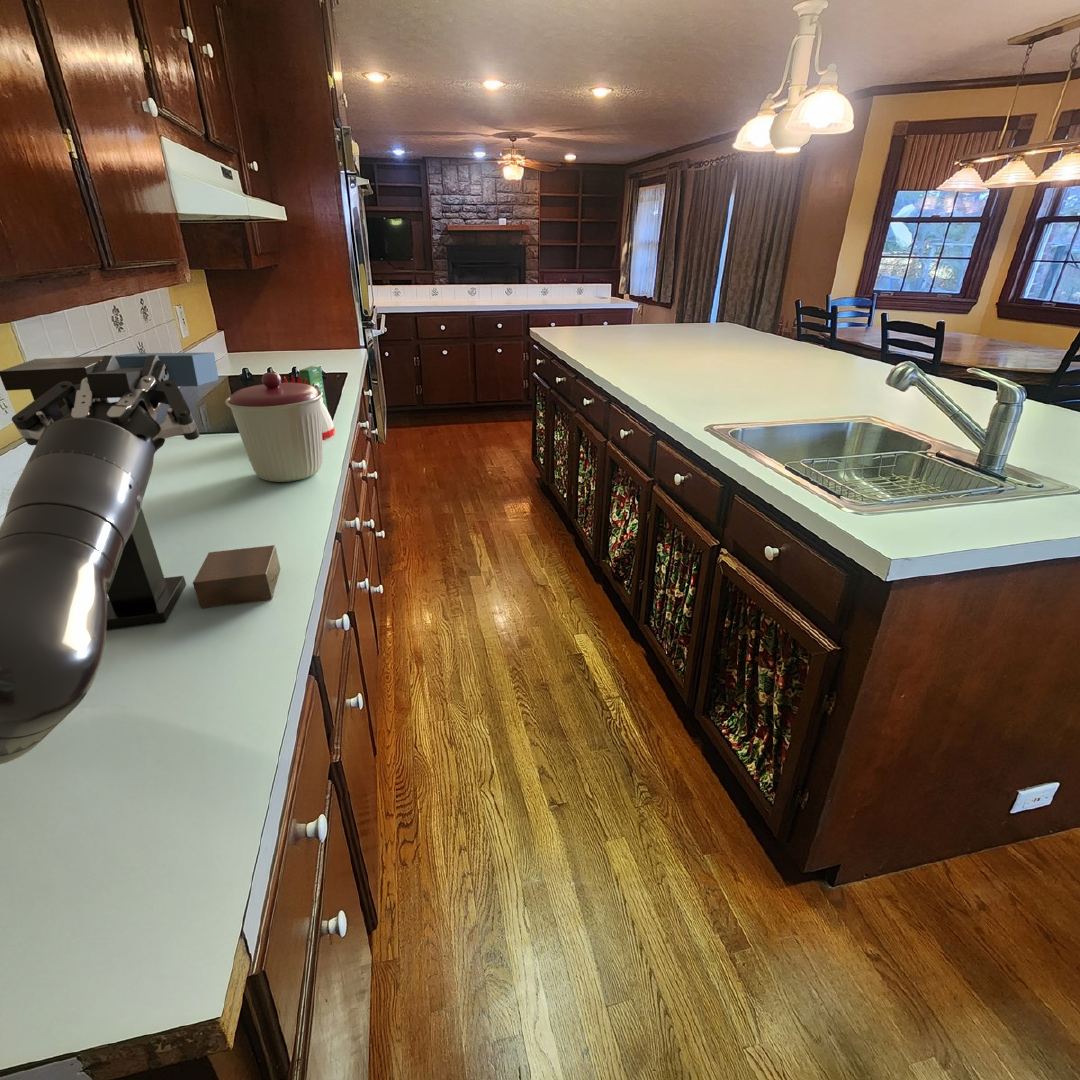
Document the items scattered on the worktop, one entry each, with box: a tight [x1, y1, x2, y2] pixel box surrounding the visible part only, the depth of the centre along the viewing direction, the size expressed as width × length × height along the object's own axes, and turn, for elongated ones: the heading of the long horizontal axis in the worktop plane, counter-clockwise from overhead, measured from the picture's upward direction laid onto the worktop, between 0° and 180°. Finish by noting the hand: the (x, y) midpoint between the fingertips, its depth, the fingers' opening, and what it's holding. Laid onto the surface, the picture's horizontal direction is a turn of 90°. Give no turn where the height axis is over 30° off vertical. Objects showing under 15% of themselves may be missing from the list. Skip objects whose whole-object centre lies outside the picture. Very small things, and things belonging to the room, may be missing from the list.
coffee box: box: [298, 365, 328, 409], centre depth 170 cm, size 8×3×13 cm, turn 173°
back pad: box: [86, 352, 219, 399], centre depth 59 cm, size 8×18×3 cm, turn 13°
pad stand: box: [0, 355, 187, 631], centre depth 74 cm, size 8×10×32 cm
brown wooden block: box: [192, 544, 281, 609], centre depth 85 cm, size 9×9×4 cm
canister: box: [224, 371, 324, 483], centre depth 123 cm, size 18×18×21 cm
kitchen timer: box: [283, 374, 336, 441], centre depth 151 cm, size 14×14×15 cm
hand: (135, 364), depth 57 cm, fingers closed on back pad, 3 cm apart
